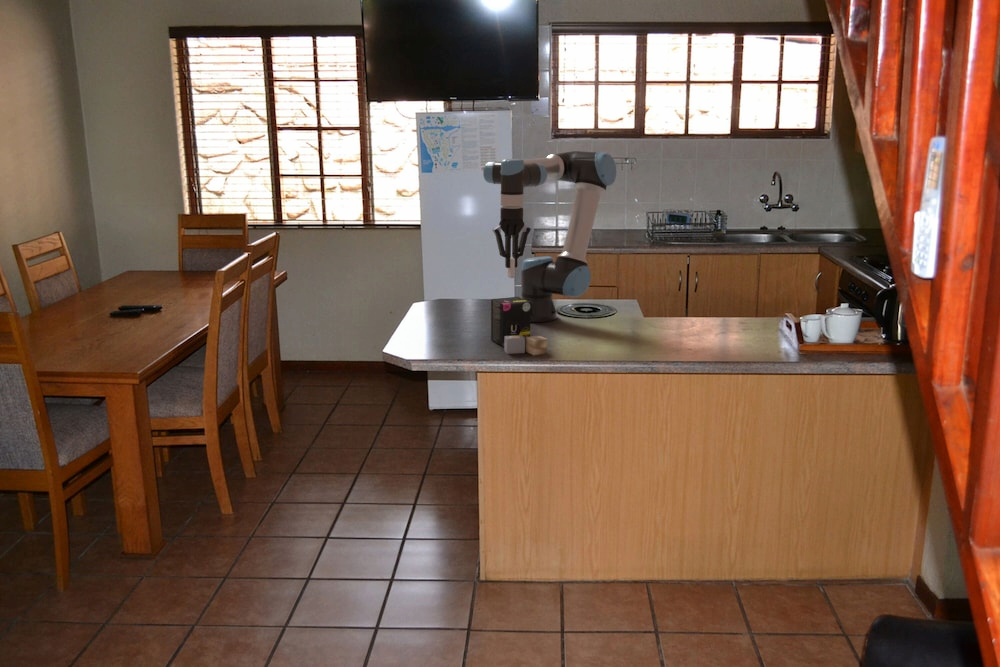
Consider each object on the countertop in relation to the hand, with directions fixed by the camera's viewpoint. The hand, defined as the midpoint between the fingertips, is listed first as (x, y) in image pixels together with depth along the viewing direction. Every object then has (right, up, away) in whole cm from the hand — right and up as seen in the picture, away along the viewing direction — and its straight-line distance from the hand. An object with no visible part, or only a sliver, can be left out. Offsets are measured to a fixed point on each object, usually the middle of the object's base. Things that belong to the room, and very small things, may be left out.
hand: (511, 277), depth 300 cm
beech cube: (+8, -25, -7) cm, 27 cm away
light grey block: (+1, -25, -6) cm, 26 cm away
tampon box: (0, -22, +6) cm, 23 cm away
